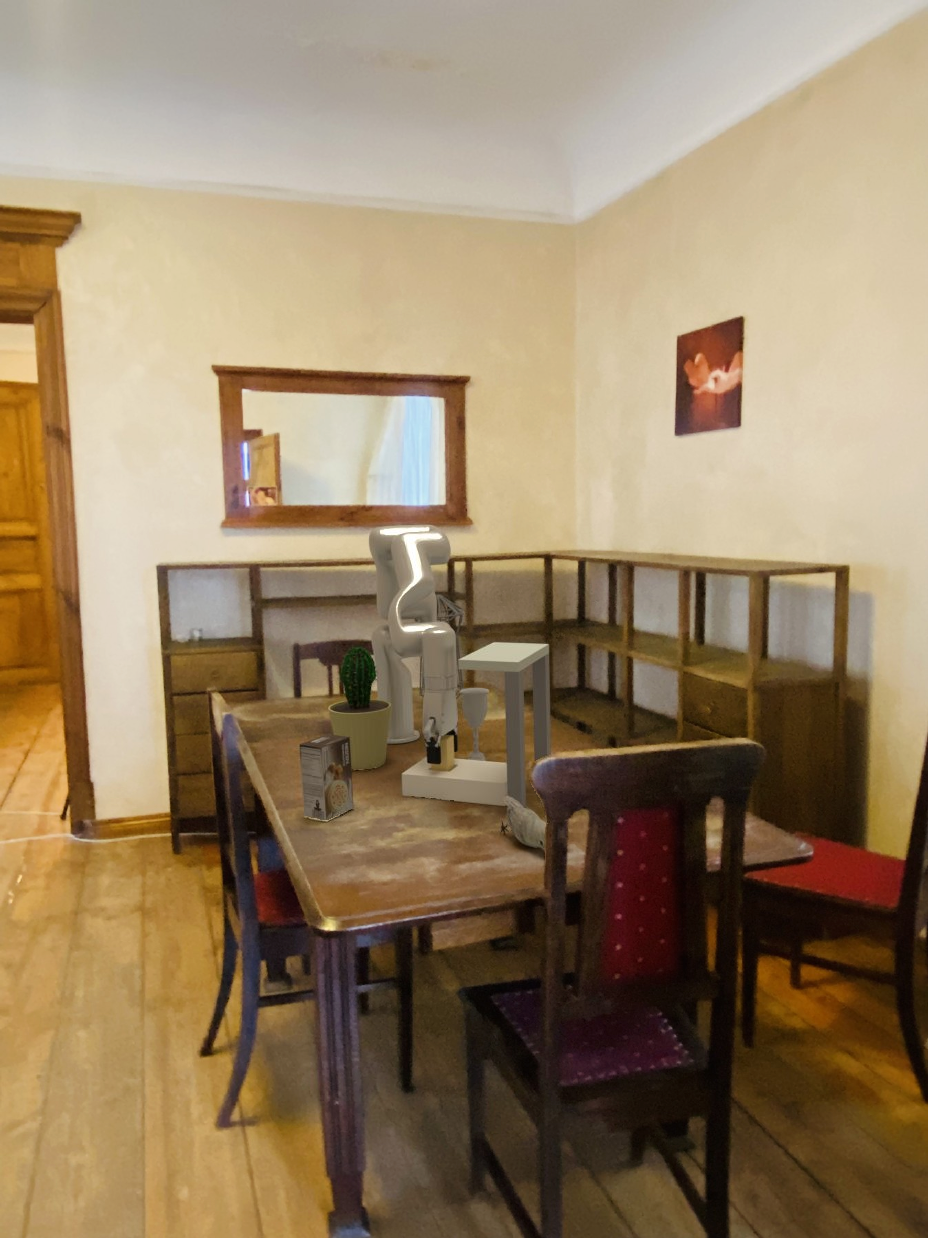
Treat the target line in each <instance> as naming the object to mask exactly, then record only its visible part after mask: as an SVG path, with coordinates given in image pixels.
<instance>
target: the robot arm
mask: <svg viewBox="0 0 928 1238" xmlns="http://www.w3.org/2000/svg"><path fill="white" fill-rule="evenodd" d="M446 534H447V533H445V532H444V531H443V530H442V529H440V528H439V527H437V526H435V525H433V524H412V525H411V524H409V525H408V524H407V525H404V524H403V525H402V524H400V525H385V526H378V527H375V528H374V529H372V530H371V531H370V533H369V536H368V546H369V547H368V548H369V552H370V555H371V557H372V560H373V562H374V566H375V569H376V608H377V613H378V615H379V617H380V618H381V619H383V620H386V621H387V623H385V624H380V625H378V626H377V627H376V628H374V629H373V631H372V633H371V637H370V638H371V647H372V651H373V658H374V662H375V664H376V666H377V667H376V666H375V667H376V669H375V670H376V671H377V672H376V673H377V674H376V675H377V676H378V677H377V676H376V679H377V680H378V681H377V680H376V691H377V693H376V695H377V696H376V697H377V700H384V701H387V702H389V703H390V704H391V706H390V719H389V729H388V739H387V745H388V744H389V745H391V744H392V745H395V744H406V743H411V742H414V741H417V740H419V738H420V736H421V734H420V732H419V730H417V729H415V726H414V724H415V723H414V705H413V703H414V699H413V696H414V695H413V678H412V673H411V671H410V668H409V667H408V666H407V665H406V664H405V663H404V662H403V661H402V660H403V659H407V658H416V657H417V658H420V656H422V661H423V688H424V690H423V691H424V692H423V694H424V698H423V697H422V698H423V699H422V720H421V721H422V724H421V725H422V727H421V728H422V734H423V735H424V742H425V748H426V757H427V763H429V764H441V746H439V743H440V739H441V736H443V735H454V753H457V752H458V747H459V746H458V745H459V744H458V742H459V740H458V733H459V731H458V730H459V729H458V725H459V722H458V720H459V719H458V718H459V712H458V702H457V699H458V698H457V696H456V693H457V690H458V687H457V685H458V666H457V656H456V635H455V634H456V632H455V630H454V629H453V628H452V627H451V625H450V624H447V623H446V622H445V621H441V622H440V621H438V620H437V601H436V595H437V594H436V593H435V587H436V582H435V578H434V574H433V571H432V566H436V565H437V566H438V565H446V564H447V563H448V562H449V561H450V558H451V554H452V553H451V552H452V550H451V545H450V540H449V538H448V535H446ZM414 619H418V622H415V621H410V622H403V620H414ZM375 660H376V661H375ZM375 664H374V665H375ZM378 665H379V666H378ZM455 690H456V691H455ZM456 698H457V699H456ZM434 737H436V741H435V739H434Z"/></svg>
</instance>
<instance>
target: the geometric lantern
mask: <svg viewBox="0 0 928 1238" xmlns="http://www.w3.org/2000/svg"><path fill="white" fill-rule="evenodd" d="M435 595H436V601H437V621H439V622H446V623H447V624H449V622H451V621H452V620H454V619H455V618H456V617H458V616H459V618H458V625H457V629H456V632H455V636H456V666H457V676H458V684H457V688H459V689H458V691H457V690H455V691H456V699H458V698H459V697H460V696H462V695H461V693H460V690H462V689H464V682H463V671H462V670H463V669H459V663H458V660H459V659H461V653H460V643H459V642H460V641H459V634H460V628H461V624H462V623H463V616H464V615H465V614H464V613H463V610H464V608H463V607H461V606H459V605H458V604H456V603H454V602H452V601H451V600H450V599H447V598H446V597H445V596H443V595H442V594H435ZM441 605H442V607H443V609H444V610H441ZM446 606H447V607H448V608H446ZM448 611H452V612H451V613H449V615H448ZM442 613H445V615H443V616H442ZM413 620H414V622H418V621H419V619H413ZM449 625H450V624H449ZM419 660H420V661H419V696H420V697H422V698H424V693H423V691H424V688H423V660H422V656H420V657H419Z"/></svg>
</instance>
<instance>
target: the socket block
mask: <svg viewBox="0 0 928 1238" xmlns="http://www.w3.org/2000/svg"><path fill="white" fill-rule="evenodd" d="M454 766H455V768H454V769H453V770H451V771H450V772H447V771H436V770H431V764H429V763H427V756H425V757H424V758H422V759H420V761H418V762H417V763H415V764H414V765H412V766H410V767H409V768H407V770H405V771H403V772H402V773H401V788H402V789H401V791H402V792H401V794H402V796H404V797H411V796H415V797H414V798H421V797H425V798H424V799H431V798H436V799H435V800H440V799H441V800H443V801H450V800H454V801H453V802H459V803H461V802H462V803H469V804H470V803H471V804H479V805H481V804H483V805H490V806H501V807H505V806H507V805H506V804H505V802H504V801H503V799H504V798H505V796H508V794H507V762H503V761H502V762H499V761H498V762H497V761H491V760H490V761H489V760H486V761H478V760H468V759H466V758H465V759H463V758H455V757H454Z"/></svg>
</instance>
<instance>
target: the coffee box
mask: <svg viewBox="0 0 928 1238" xmlns="http://www.w3.org/2000/svg"><path fill="white" fill-rule="evenodd" d="M299 759H300V771H301V773H300V774H301V785H302V787H301V788H302V800H303V803H302V804H303V817H304V816H308V817H311V818H317V819H320V820H329V819H331V818H333V817H335V816H338V815H339V814H341V813H344V812H345V811H348V810H350V809H353V808H354V806H355V805H354V790H353V789H354V788H353V774H352V773H353V770H352V768H351V752H350V737H346V736H339V735H334V734H328V733H326V734H324V735H321V736H319V737H315V738H313V739H310V740H307V741H305V742H301V743H299ZM353 810H354V809H353Z"/></svg>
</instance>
